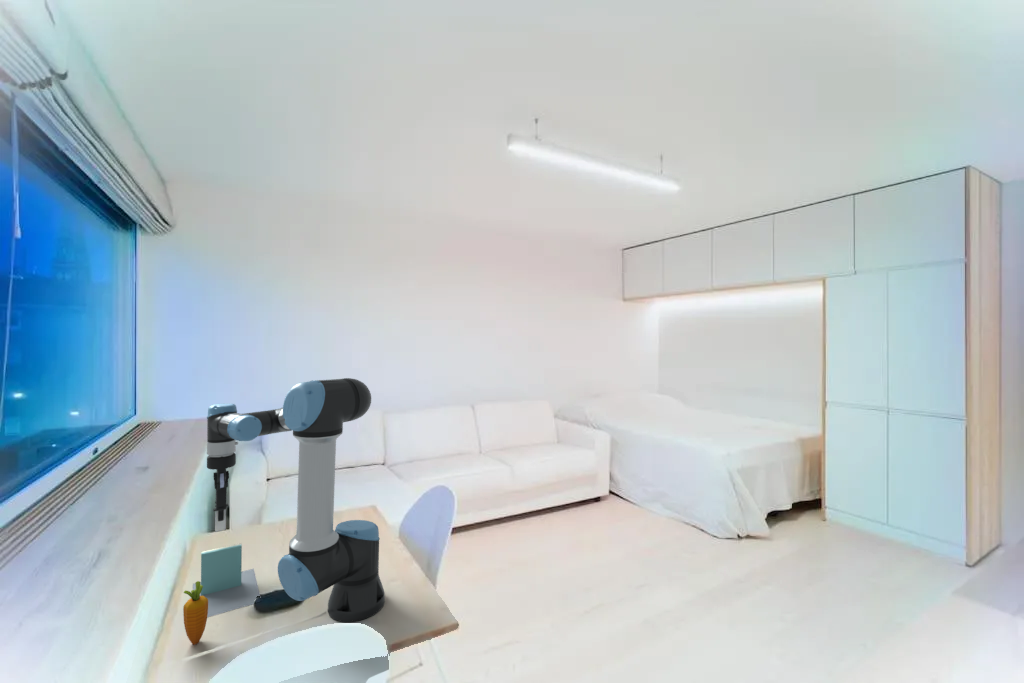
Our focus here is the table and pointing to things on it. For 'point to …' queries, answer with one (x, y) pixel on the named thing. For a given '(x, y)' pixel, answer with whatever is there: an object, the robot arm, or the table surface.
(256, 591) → the mat
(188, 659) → the table surface
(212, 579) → the board
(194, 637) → the carrot
